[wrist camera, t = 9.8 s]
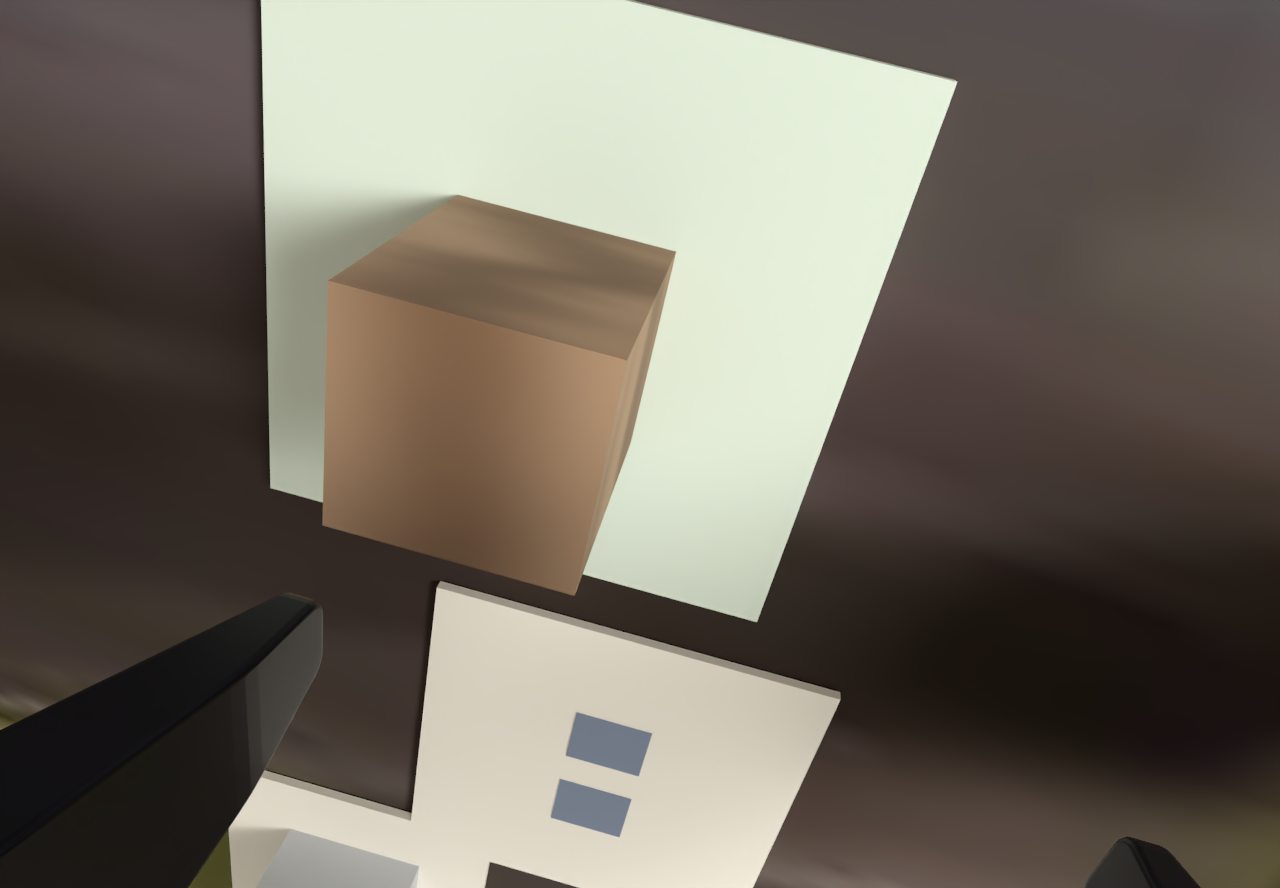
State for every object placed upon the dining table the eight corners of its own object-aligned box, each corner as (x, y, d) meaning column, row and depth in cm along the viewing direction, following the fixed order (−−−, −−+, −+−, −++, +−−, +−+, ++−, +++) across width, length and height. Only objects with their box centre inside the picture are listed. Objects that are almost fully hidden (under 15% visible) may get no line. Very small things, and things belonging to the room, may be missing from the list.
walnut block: (676, 251, 19) (627, 360, 14) (630, 442, 21) (574, 595, 16) (457, 194, 19) (327, 280, 14) (438, 390, 22) (322, 525, 16)
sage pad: (954, 79, 17) (957, 82, 16) (757, 612, 24) (757, 622, 23) (270, -89, 17) (259, -91, 17) (278, 480, 24) (270, 488, 24)
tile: (494, 837, 31) (492, 844, 30) (466, 983, 36) (464, 990, 35) (229, 760, 31) (224, 766, 31) (238, 915, 36) (234, 921, 36)
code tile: (840, 691, 25) (840, 700, 24) (732, 923, 31) (731, 933, 30) (440, 581, 25) (436, 588, 25) (412, 830, 31) (408, 838, 31)
